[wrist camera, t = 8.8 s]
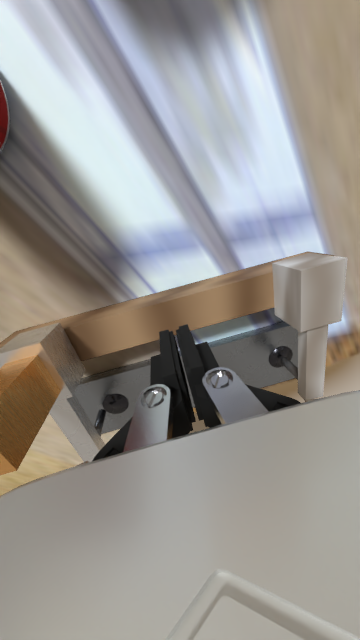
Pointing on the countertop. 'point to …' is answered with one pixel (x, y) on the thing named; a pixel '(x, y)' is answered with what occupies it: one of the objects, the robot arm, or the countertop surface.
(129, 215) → the countertop surface
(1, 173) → the countertop surface
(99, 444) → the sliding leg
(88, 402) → the hole strip
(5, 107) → the soda can
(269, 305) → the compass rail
